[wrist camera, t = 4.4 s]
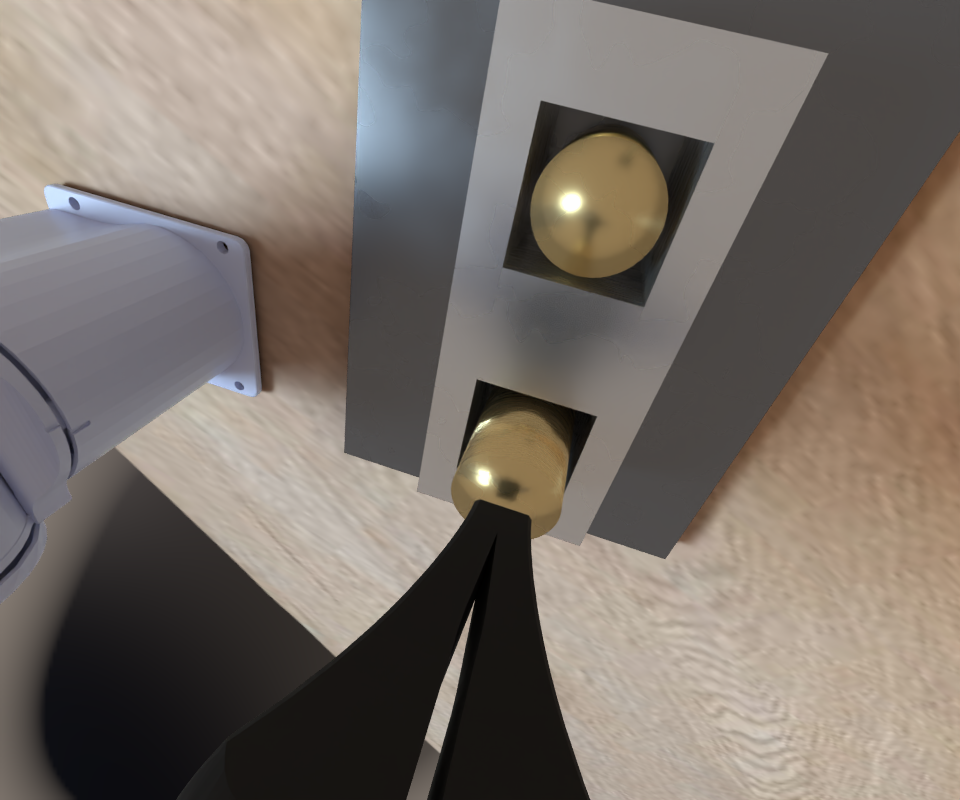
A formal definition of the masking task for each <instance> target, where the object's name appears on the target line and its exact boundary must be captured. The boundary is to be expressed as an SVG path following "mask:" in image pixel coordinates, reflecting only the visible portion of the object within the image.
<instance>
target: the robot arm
mask: <svg viewBox="0 0 960 800" xmlns="http://www.w3.org/2000/svg"><path fill="white" fill-rule="evenodd" d="M44 193H45V197H46V200H47V203H48V207H49V209H47V210H42V211H37V212H32V213H27V214H22V215H17V216H12V217H7V218H2V219H0V604H1V603H2V602H3V601H4V600H5V599H6V598H8V597H9V596H10V595H11V594H12V593H13V592H14V591H15V590H16V589H17V588H18V587H19V586H20V585H21V583H22V582H23V581H24V580H25V579H26V578H27V577H28V576H29V574H30V573H31V572H32V570H33V569H34V567H35V566H36V565H37V563H38V561H39V559H40V557H41V555H42V553H43V551H44V549H45V545H46V541H47V528H46V525H45V523H44V520H45V519H46V518H48V517H49V516H50V515H52V514H53V513H54V512H56V511H57V510H58V509H60V508H61V507H63V506H64V505H65V504H67V503H68V502H69V501H71V500H72V496H71V495H70V492H69V490H68V487H67V479H69V478H70V477H72V476H74V475H75V474H76V473H78V472H79V471H81V470H82V469H83V468H85V467H86V466H88V465H89V464H91V463H92V462H94V461H95V460H97V459H98V458H99V457H101V456H102V455H104V454H105V453H107V452H108V451H110V450H111V449H112V448H114V447H115V446H117V445H118V444H120V443H121V442H122V441H124V440H125V439H127V438H128V437H130V436H131V435H132V434H134V433H135V432H137V431H138V430H140V429H141V428H142V427H144V426H145V425H147V424H148V423H150V422H151V421H152V420H154V419H155V418H157V417H158V416H160V415H161V414H162V413H164V412H165V411H167V410H168V409H170V408H171V407H172V406H174V405H175V404H177V403H178V402H180V401H181V400H183V399H184V398H185V397H187V396H188V395H190V394H191V393H193V392H194V391H195V390H197V389H198V388H200V387H201V386H203V385H204V384H205V383H210V384H213V385H216V386H220V387H223V388H226V389H229V390H232V391H235V392H238V393H241V394H244V395H247V396H250V397H255V396H257V395H258V394H259V393H260V392H261V391H262V384H261V373H260V361H259V350H258V338H257V327H256V316H255V304H254V293H253V281H252V270H251V259H250V250H249V247H248V245H247V243H246V242H245V241H244V240H243V239H242V238H240V237H238V236H234V235H231V234H227V233H224V232H220V231H217V230H214V229H210V228H207V227H203V226H200V225H197V224H193V223H190V222H186V221H183V220H179V219H176V218H173V217H169V216H166V215H162V214H159V213H156V212H152V211H149V210H145V209H142V208H139V207H135V206H132V205H128V204H125V203H121V202H118V201H115V200H111V199H108V198H104V197H101V196H98V195H94V194H91V193H87V192H84V191H80V190H77V189H74V188H70V187H67V186H63V185H60V184H50V185H47V186H45V189H44ZM223 242H224V243H225V244H226V245H227V247H228V250H227V249H226V248H225V247H224V244H223ZM240 382H241V383H242V384H243V385H242V384H241V383H240ZM531 523H532V520H531V518H530V516H529V515H527V514H524V513H521V512H518V511H515V510H511V509H508V508H505V507H502V506H499V505H496V504H493V503H490V502H487V501H484V500H481V499H479V500H476V501H475V502H474V504H473V506H472V508H471V510H470V512H469V514H468V515H467V517H466V519H465V520H464V522H463V523H462V525H461V526H460V528H459V529H458V531H457V532H456V533H455V535H454V536H453V538H452V539H451V540H450V542H449V543H448V544H447V545H446V547H445V548H444V549H443V551H442V552H441V553H440V554H439V556H438V557H437V558H436V559H435V561H434V562H433V563H432V564H431V565H430V567H429V568H428V569H427V570H426V571H425V572H424V573H423V574H422V576H421V577H420V578H419V579H418V580H417V581H416V582H415V583H414V584H413V585H412V587H411V588H410V589H409V590H408V591H407V592H406V593H405V594H404V595H403V596H402V597H401V598H400V599H399V600H398V601H397V602H396V603H395V604H394V605H393V606H392V607H391V608H390V609H389V610H388V611H387V612H386V613H385V614H384V615H383V616H382V617H381V618H380V619H379V620H378V621H377V622H376V623H375V624H374V625H372V626H371V627H370V628H369V629H368V630H367V631H366V632H365V633H363V634H362V635H361V636H360V637H359V638H358V639H357V640H356V641H354V642H353V643H352V644H351V645H350V646H349V647H348V648H346V649H345V650H344V651H343V652H342V653H341V654H339V655H338V656H337V657H336V658H334V659H333V660H332V661H331V662H330V663H328V664H327V665H326V666H324V667H323V668H322V669H321V670H319V671H318V672H317V673H315V674H314V675H313V676H312V677H310V678H309V679H308V680H306V681H305V682H304V683H303V684H301V685H300V686H299V687H297V688H296V689H295V690H294V691H292V692H291V693H290V694H288V695H287V696H286V697H284V698H283V699H282V700H280V701H279V702H277V703H276V704H275V705H273V706H271V707H270V708H269V709H267V710H266V711H264V712H263V713H261V714H260V715H259V716H257V717H256V718H255V719H253V720H251V721H250V722H248V723H247V724H246V725H244V726H243V727H241V728H240V729H238V730H237V731H236V732H234V733H233V734H232V735H230V736H229V737H228V738H227V739H226V740H225V741H224V742H223V743H222V744H221V745H220V746H219V747H218V748H217V750H216V751H215V752H214V753H213V754H212V755H211V756H210V757H209V758H208V759H207V761H206V762H205V763H204V764H203V765H202V766H201V768H200V769H199V770H198V771H197V772H196V774H195V775H194V776H193V778H192V779H191V780H190V782H189V783H188V784H187V785H186V787H185V788H184V790H183V791H182V792H181V794H180V795H179V797H178V798H177V800H406V798H407V795H408V792H409V789H410V785H411V782H412V779H413V775H414V772H415V769H416V765H417V762H418V759H419V756H420V752H421V749H422V746H423V742H424V739H425V736H426V733H427V729H428V726H429V723H430V719H431V716H432V713H433V710H434V706H435V703H436V700H437V696H438V693H439V690H440V687H441V684H442V682H443V679H444V676H445V674H446V671H447V669H448V666H449V664H450V661H451V659H452V656H453V654H454V651H455V649H456V646H457V644H458V641H459V639H460V636H461V634H462V631H463V629H464V626H465V623H466V621H467V618H468V616H469V613H470V611H471V608H472V606H473V603H474V601H475V603H474V608H473V613H472V618H471V623H470V628H469V633H468V638H467V643H466V648H465V653H464V658H463V663H462V668H461V673H460V678H459V683H458V688H457V693H456V697H455V701H454V705H453V710H452V714H451V717H450V721H449V724H448V728H447V732H446V735H445V739H444V742H443V746H442V749H441V753H440V756H439V760H438V763H437V767H436V770H435V774H434V777H433V781H432V784H431V788H430V791H429V795H428V798H427V800H590V798H589V795H588V793H587V790H586V787H585V784H584V781H583V778H582V775H581V772H580V769H579V766H578V763H577V760H576V757H575V754H574V751H573V748H572V745H571V742H570V739H569V736H568V733H567V730H566V727H565V724H564V720H563V717H562V713H561V710H560V706H559V703H558V699H557V696H556V692H555V688H554V684H553V680H552V677H551V673H550V669H549V664H548V660H547V655H546V651H545V646H544V641H543V636H542V631H541V626H540V620H539V614H538V608H537V601H536V594H535V586H534V578H533V568H532V555H531Z"/></svg>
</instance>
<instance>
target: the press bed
mask: <svg viewBox="0 0 960 800" xmlns="http://www.w3.org/2000/svg"><path fill="white" fill-rule="evenodd" d="M593 1H597V2H601V3H606V4H610V5H615V6H619V7H624V8H628V9H633V10H637V11H642V12H646V13H651V14H655V15H659V16H664V17H668V18H673V19H677V20H682V21H686V22H691V23H695V24H700V25H704V26H708V27H713V28H717V29H722V30H726V31H731V32H735V33H740V34H744V35H749V36H753V37H757V38H762V39H766V40H771V41H775V42H780V43H784V44H789V45H793V46H798V47H802V48H806V49H811V50H815V51H820V52H824V53H828V55H827V57H826V59H825V61H824V63H823V65H822V67H821V69H820V71H819V73H818V75H817V77H816V79H815V81H814V83H813V85H812V87H811V89H810V91H809V93H808V95H807V97H806V99H805V101H804V103H803V105H802V107H801V109H800V111H799V113H798V115H797V117H796V119H795V121H794V123H793V125H792V127H791V129H790V131H789V133H788V135H787V137H786V139H785V141H784V143H783V145H782V147H781V149H780V151H779V153H778V155H777V156H776V158H775V160H774V162H773V164H772V166H771V168H770V170H769V172H768V174H767V176H766V178H765V180H764V182H763V184H762V186H761V188H760V190H759V192H758V194H757V196H756V198H755V200H754V202H753V204H752V206H751V208H750V210H749V212H748V214H747V216H746V218H745V220H744V222H743V224H742V226H741V228H740V230H739V232H738V234H737V236H736V238H735V240H734V242H733V244H732V246H731V248H730V250H729V252H728V254H727V256H726V258H725V260H724V262H723V263H722V265H721V267H720V269H719V271H718V273H717V275H716V277H715V279H714V281H713V283H712V285H711V287H710V289H709V291H708V293H707V295H706V297H705V299H704V301H703V303H702V305H701V307H700V309H699V311H698V313H697V315H696V317H695V319H694V321H693V323H692V325H691V327H690V329H689V331H688V333H687V335H686V337H685V339H684V341H683V343H682V345H681V347H680V349H679V351H678V353H677V355H676V357H675V359H674V361H673V363H672V365H671V367H670V369H669V370H668V372H667V374H666V376H665V378H664V380H663V382H662V384H661V386H660V388H659V390H658V392H657V394H656V396H655V398H654V400H653V402H652V404H651V406H650V408H649V410H648V412H647V414H646V416H645V418H644V420H643V422H642V424H641V426H640V428H639V430H638V432H637V434H636V436H635V438H634V440H633V442H632V444H631V446H630V448H629V450H628V452H627V454H626V456H625V458H624V460H623V462H622V464H621V466H620V468H619V470H618V472H617V474H616V476H615V478H614V479H613V481H612V483H611V485H610V487H609V489H608V491H607V493H606V495H605V497H604V499H603V501H602V503H601V505H600V507H599V509H598V511H597V513H596V515H595V517H594V519H593V521H592V523H591V525H590V527H589V529H588V531H587V533H588V534H591V535H594V536H597V537H600V538H603V539H606V540H609V541H612V542H615V543H618V544H621V545H624V546H627V547H630V548H633V549H636V550H639V551H642V552H645V553H648V554H651V555H654V556H657V557H660V558H663V559H666V557H667V556H668V554H669V553H670V551H671V550H672V549H673V547H674V546H675V544H676V543H677V541H678V540H679V538H680V537H681V535H682V534H683V533H684V531H685V530H686V528H687V527H688V525H689V524H690V522H691V521H692V519H693V518H694V517H695V515H696V514H697V512H698V511H699V509H700V508H701V506H702V505H703V504H704V502H705V501H706V499H707V498H708V496H709V495H710V493H711V492H712V490H713V489H714V488H715V486H716V485H717V483H718V482H719V480H720V479H721V477H722V476H723V474H724V473H725V472H726V470H727V469H728V467H729V466H730V464H731V463H732V461H733V460H734V458H735V457H736V456H737V454H738V453H739V451H740V450H741V448H742V447H743V445H744V444H745V442H746V441H747V440H748V438H749V437H750V435H751V434H752V432H753V431H754V429H755V428H756V427H757V425H758V424H759V422H760V421H761V419H762V418H763V416H764V415H765V413H766V412H767V411H768V409H769V408H770V406H771V405H772V403H773V402H774V400H775V399H776V397H777V396H778V395H779V393H780V392H781V390H782V389H783V387H784V386H785V384H786V383H787V381H788V380H789V379H790V377H791V376H792V374H793V373H794V371H795V370H796V368H797V367H798V365H799V364H800V363H801V361H802V360H803V358H804V357H805V355H806V354H807V352H808V351H809V350H810V348H811V347H812V345H813V344H814V342H815V341H816V339H817V338H818V336H819V335H820V334H821V332H822V331H823V329H824V328H825V326H826V325H827V323H828V322H829V320H830V319H831V318H832V316H833V315H834V313H835V312H836V310H837V309H838V307H839V306H840V304H841V303H842V302H843V300H844V299H845V297H846V296H847V294H848V293H849V291H850V290H851V288H852V287H853V286H854V284H855V283H856V281H857V280H858V278H859V277H860V275H861V274H862V273H863V271H864V270H865V268H866V267H867V265H868V264H869V262H870V261H871V259H872V258H873V257H874V255H875V254H876V252H877V251H878V249H879V248H880V246H881V245H882V243H883V242H884V241H885V239H886V238H887V236H888V235H889V233H890V232H891V230H892V229H893V227H894V226H895V225H896V223H897V222H898V220H899V219H900V217H901V216H902V214H903V213H904V211H905V210H906V209H907V207H908V206H909V204H910V203H911V201H912V200H913V198H914V197H915V196H916V194H917V193H918V191H919V190H920V188H921V187H922V185H923V184H924V182H925V181H926V180H927V178H928V177H929V175H930V174H931V172H932V171H933V169H934V168H935V166H936V165H937V164H938V162H939V161H940V159H941V158H942V156H943V155H944V153H945V152H946V150H947V149H948V148H949V146H950V145H951V143H952V142H953V140H954V139H955V137H956V136H957V134H958V133H959V132H960V0H593ZM499 3H500V0H362V11H361V36H360V62H359V88H358V114H357V140H356V165H355V191H354V217H353V243H352V268H351V294H350V320H349V346H348V371H347V397H346V423H345V449H344V453H347V454H350V455H353V456H356V457H359V458H362V459H365V460H368V461H371V462H374V463H377V464H380V465H383V466H386V467H389V468H392V469H395V470H398V471H401V472H404V473H407V474H410V475H413V476H416V477H419V476H420V470H421V464H422V458H423V452H424V446H425V440H426V434H427V429H428V423H429V417H430V411H431V405H432V399H433V393H434V387H435V381H436V375H437V369H438V364H439V358H440V352H441V346H442V340H443V334H444V328H445V322H446V316H447V310H448V304H449V298H450V293H451V287H452V281H453V275H454V269H455V263H456V257H457V251H458V245H459V239H460V233H461V227H462V222H463V216H464V210H465V204H466V198H467V192H468V186H469V180H470V174H471V168H472V162H473V157H474V151H475V145H476V139H477V133H478V127H479V121H480V115H481V109H482V103H483V97H484V91H485V86H486V80H487V74H488V68H489V62H490V56H491V50H492V44H493V38H494V32H495V26H496V21H497V15H498V9H499ZM606 124H615V125H620V126H624V127H627V128H629V129H631V130H633V131H635V132H636V133H638V134H639V135H640V136H641V137H642V138H643V139H644V140H645V141H646V143H647V144H648V145H649V147H650V149H651V151H652V153H653V155H654V157H655V159H656V161H657V163H658V165H659V167H660V169H661V171H662V173H663V176H664V179H665V182H666V186H667V183H668V181H669V178H670V176H671V173H672V171H673V168H674V166H675V163H676V161H677V158H678V156H679V153H680V151H681V148H682V146H683V143H684V141H685V138H686V136H683V135H679V134H675V133H671V132H667V131H663V130H659V129H655V128H650V127H646V126H642V125H638V124H634V123H630V122H626V121H622V120H618V119H614V118H610V117H606V116H602V115H598V114H594V113H590V112H586V111H582V110H578V109H574V108H570V107H565V106H561V108H560V112H559V116H558V120H557V124H556V128H555V132H554V136H553V140H552V144H551V148H550V152H549V156H548V160H547V164H546V166H547V165H548V164H549V162H550V161H551V160H552V159H553V158H554V157H555V156H556V155H557V154H558V153H559V152H560V151H561V150H562V149H564V148H565V147H566V146H567V145H568V144H569V143H570V142H571V141H572V140H573V139H574V138H575V137H577V136H578V135H579V134H581V133H582V132H584V131H586V130H588V129H590V128H592V127H596V126H599V125H606ZM531 226H532V225H531ZM494 387H495V385H494V384H491V386H490V390H489V394H488V398H489V395H490V393H491V391H492V389H493V388H494ZM577 411H578V410H575V416H576V413H577Z"/></svg>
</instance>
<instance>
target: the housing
mask: <svg viewBox="0 0 960 800" xmlns="http://www.w3.org/2000/svg"><path fill="white" fill-rule="evenodd" d="M827 55H828V53H824V52H820V51H815V50H811V49H806V48H802V47H798V46H793V45H789V44H784V43H780V42H775V41H771V40H766V39H762V38H757V37H753V36H749V35H744V34H740V33H735V32H731V31H726V30H722V29H717V28H713V27H708V26H704V25H700V24H695V23H691V22H686V21H682V20H677V19H673V18H668V17H664V16H659V15H655V14H651V13H646V12H642V11H637V10H633V9H628V8H624V7H619V6H615V5H610V4H606V3H601V2H597V1H593V0H500V3H499V9H498V15H497V21H496V26H495V32H494V38H493V44H492V50H491V56H490V62H489V68H488V74H487V80H486V86H485V91H484V97H483V103H482V109H481V115H480V121H479V127H478V133H477V139H476V145H475V151H474V157H473V162H472V168H471V174H470V180H469V186H468V192H467V198H466V204H465V210H464V216H463V222H462V227H461V233H460V239H459V245H458V251H457V257H456V263H455V269H454V275H453V281H452V287H451V293H450V298H449V304H448V310H447V316H446V322H445V328H444V334H443V340H442V346H441V352H440V358H439V364H438V369H437V375H436V381H435V387H434V393H433V399H432V405H431V411H430V417H429V423H428V429H427V434H426V440H425V446H424V452H423V458H422V464H421V470H420V476H419V482H418V488H417V492H420V493H423V494H426V495H429V496H432V497H435V498H438V499H441V500H444V501H447V502H450V503H453V500H452V496H451V484H452V480H453V477H454V475H455V473H456V471H457V468H458V466H459V464H460V462H461V459H462V457H463V455H464V452H465V450H466V448H467V446H468V443H469V441H470V439H471V436H472V434H473V432H474V430H475V427H476V425H477V423H478V420H479V418H480V416H481V414H482V411H483V409H484V407H485V405H486V402H487V400H488V394H489V390H490V386H491V384H494V385H497V386H500V387H504V388H507V389H510V390H513V391H517V392H520V393H523V394H526V395H530V396H533V397H536V398H539V399H542V400H546V401H549V402H552V403H555V404H559V405H562V406H565V407H568V408H572V409H575V410H578V411H577V413H576V416H575V421H574V428H573V435H572V442H571V449H570V456H569V462H568V469H567V476H566V483H565V490H564V497H563V503H562V510H561V515H560V518H559V520H558V522H557V524H556V525H555V526H554V527H553V528H552V529H551V530H550V531H549V532H547V533H546V535H549V536H552V537H555V538H558V539H561V540H563V541H566V542H569V543H572V544H575V545H578V546H580V545H581V543H582V541H583V539H584V537H585V535H586V533H587V531H588V529H589V527H590V525H591V523H592V521H593V519H594V517H595V515H596V513H597V511H598V509H599V507H600V505H601V503H602V501H603V499H604V497H605V495H606V493H607V491H608V489H609V487H610V485H611V483H612V481H613V479H614V478H615V476H616V474H617V472H618V470H619V468H620V466H621V464H622V462H623V460H624V458H625V456H626V454H627V452H628V450H629V448H630V446H631V444H632V442H633V440H634V438H635V436H636V434H637V432H638V430H639V428H640V426H641V424H642V422H643V420H644V418H645V416H646V414H647V412H648V410H649V408H650V406H651V404H652V402H653V400H654V398H655V396H656V394H657V392H658V390H659V388H660V386H661V384H662V382H663V380H664V378H665V376H666V374H667V372H668V370H669V369H670V367H671V365H672V363H673V361H674V359H675V357H676V355H677V353H678V351H679V349H680V347H681V345H682V343H683V341H684V339H685V337H686V335H687V333H688V331H689V329H690V327H691V325H692V323H693V321H694V319H695V317H696V315H697V313H698V311H699V309H700V307H701V305H702V303H703V301H704V299H705V297H706V295H707V293H708V291H709V289H710V287H711V285H712V283H713V281H714V279H715V277H716V275H717V273H718V271H719V269H720V267H721V265H722V263H723V262H724V260H725V258H726V256H727V254H728V252H729V250H730V248H731V246H732V244H733V242H734V240H735V238H736V236H737V234H738V232H739V230H740V228H741V226H742V224H743V222H744V220H745V218H746V216H747V214H748V212H749V210H750V208H751V206H752V204H753V202H754V200H755V198H756V196H757V194H758V192H759V190H760V188H761V186H762V184H763V182H764V180H765V178H766V176H767V174H768V172H769V170H770V168H771V166H772V164H773V162H774V160H775V158H776V156H777V155H778V153H779V151H780V149H781V147H782V145H783V143H784V141H785V139H786V137H787V135H788V133H789V131H790V129H791V127H792V125H793V123H794V121H795V119H796V117H797V115H798V113H799V111H800V109H801V107H802V105H803V103H804V101H805V99H806V97H807V95H808V93H809V91H810V89H811V87H812V85H813V83H814V81H815V79H816V77H817V75H818V73H819V71H820V69H821V67H822V65H823V63H824V61H825V59H826V57H827ZM561 106H565V107H570V108H574V109H578V110H582V111H586V112H590V113H594V114H598V115H602V116H606V117H610V118H614V119H618V120H622V121H626V122H630V123H634V124H638V125H642V126H646V127H650V128H655V129H659V130H663V131H667V132H671V133H675V134H679V135H683V136H686V138H685V141H684V143H683V146H682V148H681V151H680V153H679V156H678V158H677V161H676V163H675V166H674V168H673V171H672V173H671V176H670V178H669V181H668V183H667V191H668V212H667V217H666V221H665V224H664V227H663V230H662V232H661V234H660V236H659V238H658V240H657V241H656V243H655V244H654V246H653V247H652V249H651V250H650V251H649V252H648V253H647V254H646V255H645V256H644V257H643V258H642V259H641V260H640V261H639V262H637V263H636V264H635V265H633V266H632V267H630V268H628V269H627V270H625V271H622V272H620V273H618V274H614V275H611V276H607V277H601V278H588V277H581V276H576V275H573V274H570V273H568V272H566V271H564V270H562V269H560V268H559V267H557V266H556V265H554V264H553V263H552V262H551V261H550V260H549V259H548V258H547V257H546V256H545V254H544V253H543V252H542V250H541V249H540V247H539V246H538V243H537V241H536V239H535V237H534V233H533V230H532V226H531V216H530V210H531V200H532V195H533V192H534V189H535V186H536V183H537V181H538V179H539V177H540V175H541V174H542V172H543V170H544V169H545V167H546V164H547V160H548V156H549V152H550V148H551V144H552V140H553V136H554V132H555V128H556V124H557V120H558V116H559V112H560V108H561ZM453 504H454V503H453Z"/></svg>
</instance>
